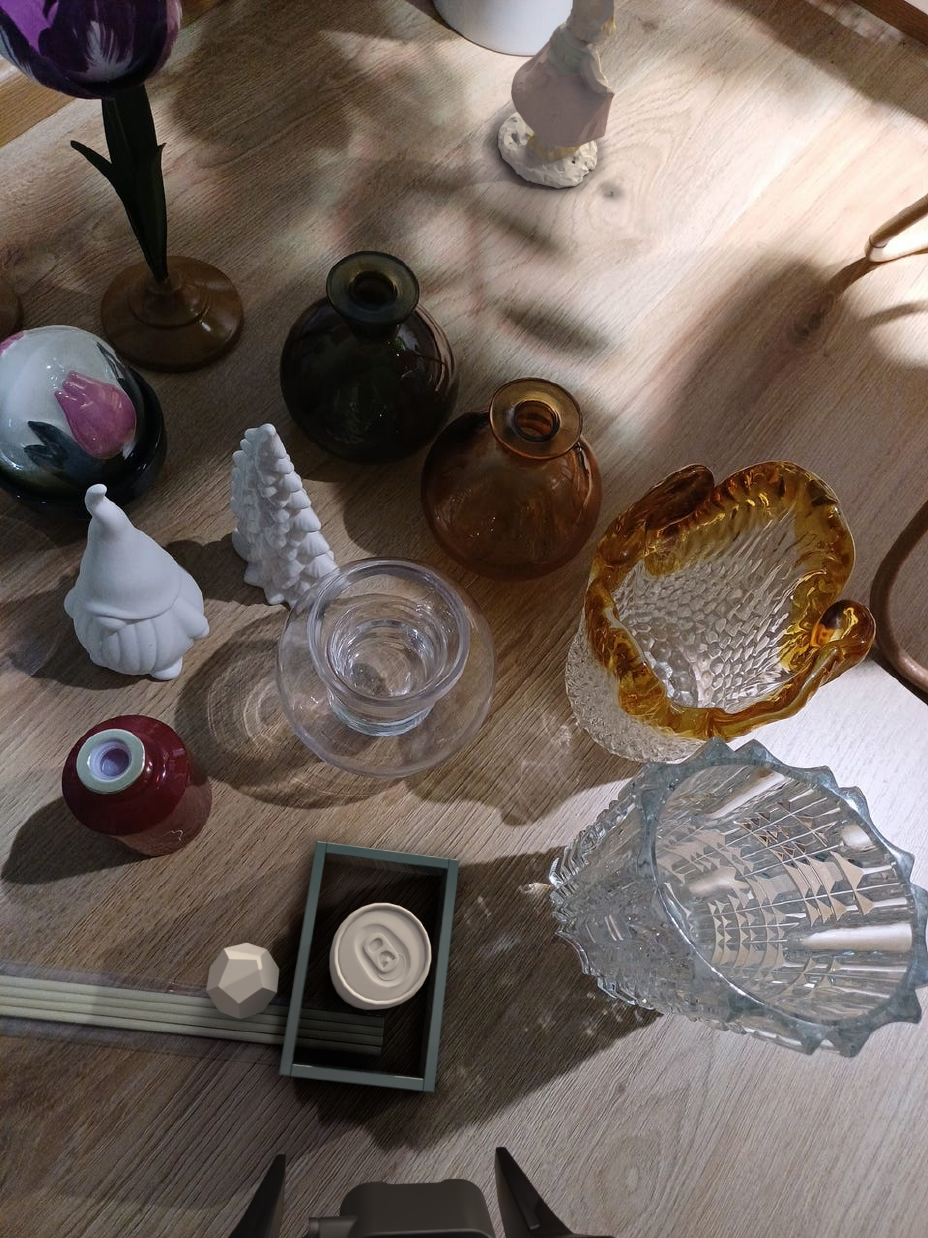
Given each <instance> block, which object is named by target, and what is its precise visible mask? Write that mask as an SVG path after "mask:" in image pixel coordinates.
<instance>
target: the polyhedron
mask: <svg viewBox="0 0 928 1238" xmlns="http://www.w3.org/2000/svg"><path fill="white" fill-rule="evenodd" d="M279 976H280V968H279V967H278V965H277V963H276V962H275V960H274V958H273V957H272V955H271V954H270V952H269V950H268V949H267V948H264V947H262V946H258V945H256V944H252V943H249V942H244V943H240V944H236V945H231V946H227V947H224V948H223V949H222V950H221V952H219V954H218V956H217V957H216V959H215V960H214V961H213V963H212V964H211V965H210V967H209V970H208V977H207V983H206V990H205V992H206V993H207V995H208V996H209V998H210V999H211V1001H212V1003H213V1004H214V1005H215V1007H216V1009H217V1010H218V1011H219V1012H221V1013H223V1014H225V1015H228V1016H231V1017H234V1018H236V1019H240V1020H241V1019H243V1018H247V1017H251V1016H253V1015H257V1014H260V1013H263V1012H264V1011H265V1009H266V1008H267V1007H268V1006H269V1004H270V1003H271V1001H272V1000H273V999H274V997H275V996H276V994H278V987H279V985H278V984H279Z"/></svg>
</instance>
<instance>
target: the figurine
mask: <svg viewBox="0 0 928 1238" xmlns="http://www.w3.org/2000/svg"><path fill="white" fill-rule="evenodd" d="M615 4H616V0H572V5H571V9H570V13H569V15H568V17H567V18H566V20H565V21H563V22H562V23H561V24H559V25H558V26H557V27H556V28H555V29H554V30H553V31H552V33H551V36H550V37H549V39H548V41H547V42H545V44H544V45H543V46H542V47H541V48H540V50H539V51H537V53H535V54H534V55H533V57H531V58H529V59H527V61H525V62H524V63H522V65H521V66H520V67H519V68H518V69H517V70H516V72H515V73H514V75H513V78H512V82H511V85H510V86H511V89H510V95H511V96H510V97H511V100H512V103H513V106H514V108H515V110H516V112H513V113H512V114H511V115H509V116H508V117H507V118H506V119H505V121H504V122H503V123H502V124H501V126H500V127H499V130H498V135H497V138H498V140H497V147H498V149H499V151H500V154H501V158H502V159H503V160H504V161H505V162H506V163H507V164H509V166H510V167H512V169H513V170H514V171H515V174H516V175H519V176H520V177H522V179H524V181H525V180H526V181H527V182H532V183H534V184H539V185H544V186H547V187H553V188H555V189H557V190H558V189H561V188H569V187H576V186H578V185H579V184H581V183H582V182H583V180H584V176H585V175H588V174H589V173H590V171H589V170H591V171H593V170H595V168H596V166H597V159H598V156H597V154H598V147H597V142H596V140H598V139H601V138H603V137H605V136H606V135H605V134H606V131H607V125H608V119H609V114H610V110H611V106H612V102H613V100H614V97H615V95H616V89H615V88H614V87H610V85H609V81H608V80H609V79H608V77H607V76H606V75H604V74H603V72H602V67H601V66H602V65H601V59H600V54H599V51H598V46H599V45H602V44H603V43H605V42H606V41H607V40H608V38H610V37H611V36H612V35H613V34H614V33H615V32H616V30H617V27H616V5H615ZM573 162H574V163H573ZM610 194H611V195H613V196H614V195H615V192H614V191H613V190H612V189H611V190H610Z"/></svg>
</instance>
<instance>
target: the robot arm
mask: <svg viewBox="0 0 928 1238" xmlns="http://www.w3.org/2000/svg"><path fill="white" fill-rule="evenodd" d="M269 1165H270V1166H269V1167H268V1169H267V1171H266V1173H265V1174H264V1176H263V1178H262V1180H261V1182H260V1184H259V1186H258V1188H257V1189H256V1191H255V1193H254V1195H253V1196H252V1198H251V1201H249V1204H248V1206H247V1208H246V1209H245V1211H244V1213H243V1214H242V1216H241V1218H240V1219H239V1221H238V1223H237V1224H236V1226H235V1227H234V1228H233V1230H232V1231H231V1233H230V1234H229V1235H228V1237H227V1238H280V1237H281V1236H280V1235H281V1229H282V1223H283V1218H284V1211H285V1200H286V1199H285V1197H286V1182H287V1181H286V1179H287V1154H286V1153H277V1154H276V1155H275V1156H274V1158H273V1160H272V1162H271V1163H270V1164H269ZM493 1167H494V1178H495V1187H496V1188H495V1189H496V1197H497V1198H496V1199H497V1205H498V1209H499V1215H500V1219H501V1223H502V1227H503V1233H504V1237H505V1238H617V1237H616V1236H614V1235H608V1234H605V1235H602V1234H601V1235H595V1234H593V1235H592V1234H583V1233H575V1232H573V1231H571V1230H570V1228H568V1226H567V1225H566V1224H565V1223H564V1222H563V1221H562V1220H561V1218H559V1217H558V1216H557V1214H555V1213H554V1211H553V1210H552V1209H551V1207H550V1206H548V1205H549V1204H547V1203H546V1201H545V1200H544V1199H543V1197H542V1196H541V1195H540V1193H539V1192H538V1190H537V1189H536V1188H535V1186H534V1184H533V1183H532V1182H531V1180H530V1179H529V1178H528V1176H527V1175H526V1174H525V1172H524V1171H523V1169H522V1168H521V1167H520V1165H519V1164H518V1162H517V1161H516V1159H515V1158H514V1157H513V1156H512V1154H511V1153H510V1151H509V1150H508V1149H507V1147H505V1146H497V1147H495V1151H494V1161H493ZM491 1218H492V1217H491V1215H490V1212H489V1207H488V1205H487V1201H486V1197H485V1194H484V1193H483V1191H482V1190H481V1188H480V1187H479V1186H478V1185H477V1184H476V1183H474V1182H473V1181H470V1180H468V1179H464V1178H445V1179H443V1180H442V1181H438V1182H436V1181H435V1182H409V1183H406V1182H405V1183H389V1182H387V1181H384V1180H383V1181H382V1180H378V1181H375V1180H373V1181H365V1182H363V1183H360V1184H358V1185H356V1186H354V1187H352V1188H351V1189H350V1190H349V1191H348V1192H347V1193H346V1194H345V1196H344V1197H343V1198H342V1201H341V1203H340V1206H339V1214H338V1215H331V1216H330V1215H328V1216H309V1217H308V1221H307V1222H308V1223H307V1224H308V1225H307V1228H308V1229H307V1232H306V1233H305V1234H304V1235H303V1236H301V1237H300V1238H497V1236H496V1233H495V1229H494V1226H493V1222H492V1219H491Z"/></svg>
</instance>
